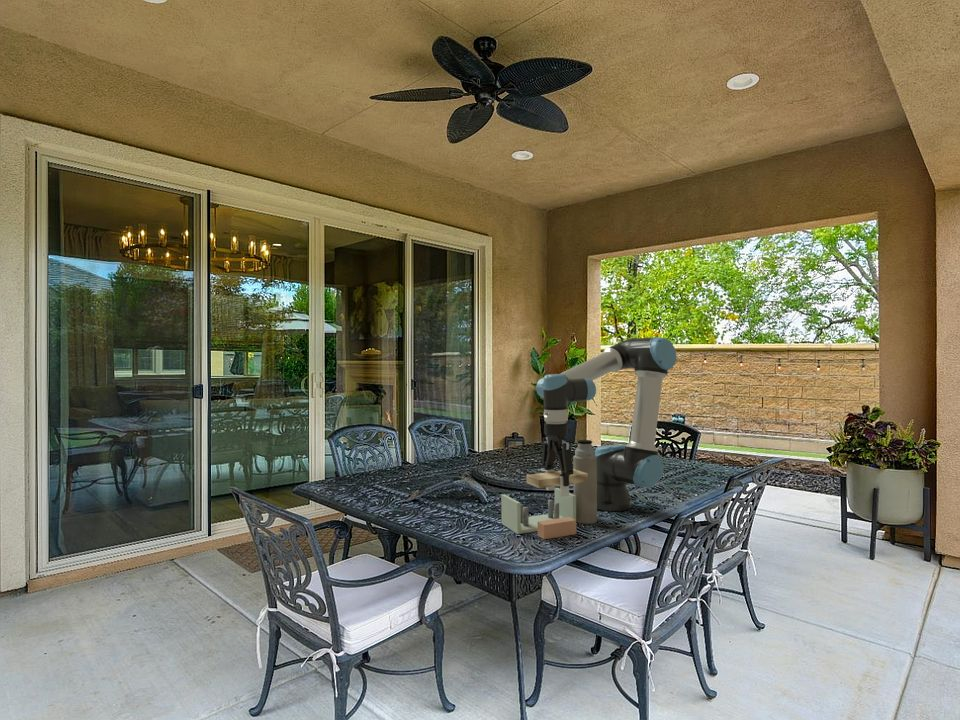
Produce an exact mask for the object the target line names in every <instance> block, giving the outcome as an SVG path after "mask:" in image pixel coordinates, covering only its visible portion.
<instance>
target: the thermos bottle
mask: <svg viewBox="0 0 960 720" xmlns="http://www.w3.org/2000/svg"><path fill="white" fill-rule="evenodd" d="M592 443H593V441H592V440H591V439H590V440H589V439H578V440H577V448H575V451H574V454H575V455H573V456H572V465H573V469H576V470H579V471H581V472H584V473H587V474H588V481H587V482H580V483H573V495H576V523H577V524H578V523H579V524H587V525H589V524H595V523H597V522H598V509H597V457H596V456H595V449H593V445H592Z"/></svg>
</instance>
